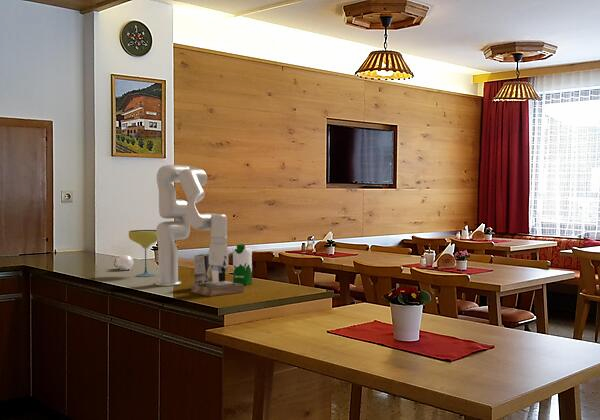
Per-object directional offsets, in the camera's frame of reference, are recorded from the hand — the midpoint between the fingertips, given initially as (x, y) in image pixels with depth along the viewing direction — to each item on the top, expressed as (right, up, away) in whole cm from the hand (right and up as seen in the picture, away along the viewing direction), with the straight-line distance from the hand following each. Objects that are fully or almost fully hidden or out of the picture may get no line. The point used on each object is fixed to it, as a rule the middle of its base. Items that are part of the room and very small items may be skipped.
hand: (219, 280), depth 309 cm
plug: (0, -3, 0) cm, 3 cm away
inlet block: (0, -5, 0) cm, 5 cm away
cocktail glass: (-48, -4, +63) cm, 79 cm away
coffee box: (-9, -5, +13) cm, 17 cm away
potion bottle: (-69, -4, +92) cm, 115 cm away
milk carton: (+9, -5, +25) cm, 27 cm away
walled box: (-1, -5, -1) cm, 6 cm away
